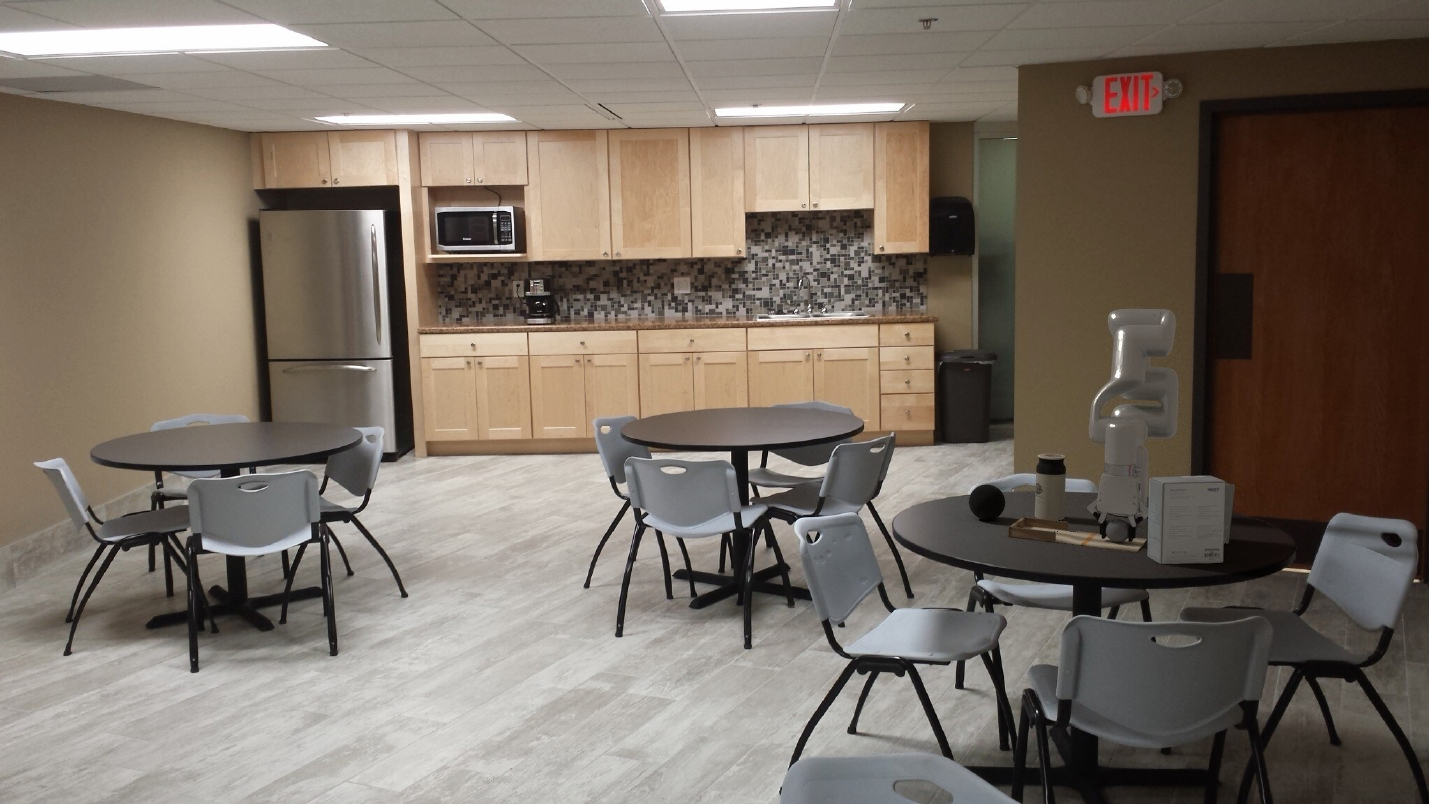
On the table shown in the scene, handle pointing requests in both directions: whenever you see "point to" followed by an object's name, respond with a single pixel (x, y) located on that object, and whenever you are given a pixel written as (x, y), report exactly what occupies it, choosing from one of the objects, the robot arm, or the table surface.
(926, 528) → the table surface
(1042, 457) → the travel mug
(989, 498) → the decorative ball
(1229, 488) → the skincare box
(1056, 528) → the mat
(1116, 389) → the robot arm
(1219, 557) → the hard drive box
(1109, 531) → the rubber ball
